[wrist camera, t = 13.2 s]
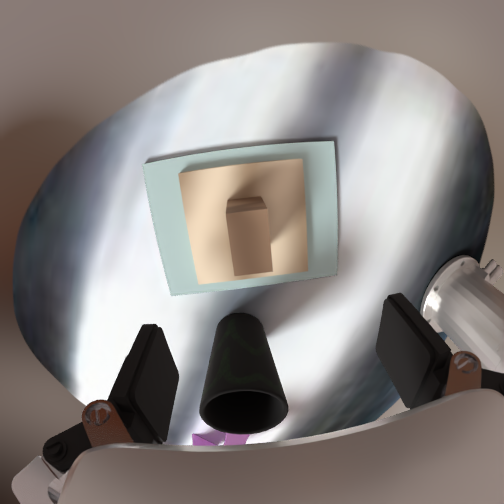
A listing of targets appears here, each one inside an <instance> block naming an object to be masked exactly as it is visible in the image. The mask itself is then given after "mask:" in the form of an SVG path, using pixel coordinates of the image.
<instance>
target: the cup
mask: <svg viewBox="0 0 504 504" xmlns="http://www.w3.org/2000/svg"><path fill="white" fill-rule="evenodd" d="M287 413H288V403H287V400H286V397H285V394H284V391H283V388H282V385H281V382H280V379H279V376H278V373H277V369H276V366H275V363H274V360H273V357H272V354H271V351H270V348H269V344H268V341H267V338H266V335H265V332H264V329H263V326H262V324H261V322H260V321H259V320H258V319H257V318H256V317H254V316H252V315H250V314H245V313H235V314H231V315H228V316H226V317H225V318H223V319H222V320H221V321H220V322H219V324H218V326H217V329H216V334H215V338H214V343H213V347H212V352H211V356H210V361H209V366H208V370H207V375H206V380H205V384H204V389H203V394H202V398H201V403H200V410H199V414H200V416H201V418H202V420H203V421H204V422H205V423H206V424H207V425H209V426H211V427H212V428H214V429H216V430H219V431H221V432H225V433H229V434H239V435H241V434H254V433H260V432H263V431H267V430H269V429H271V428H273V427H275V426H277V425H278V424H279V423H281V422H282V421H283V420H284V418H285V417H286V416H287Z"/></svg>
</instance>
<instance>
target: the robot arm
mask: <svg viewBox="0 0 504 504" xmlns="http://www.w3.org/2000/svg"><path fill="white" fill-rule="evenodd" d="M502 274H503V270H502V268H501V267H500V266H499V265H497V264H496V262H495V261H494V260H493V259H492V260H491V261H490V262H489V263H488V264H487V266H486V267H485V268H482V269H481V268H480V266H479V264H478V262H477V261H476V260H475V259H473V258H472V257H470V256H468V255H461V256H457V257H455V258H453V259H451V260H450V261H449V262H447V263H446V264H445V265H444V266H443V267H442V268H441V269H440V270H439V271H438V272H437V273H436V275H435V276H434V277H433V279H432V280H431V282H430V284H429V286H428V287H427V289H426V292H425V294H424V297H423V300H422V304H421V310H420V313H419V312H418V310H417V309H416V308H415V307H414V306H413V305H412V304H411V303H410V302H409V301H408V300H407V298H406V297H405V296H404V295H403V294H402V293H397V294H392V295H389V296H388V297H387V299H385V300H384V304H383V311H382V317H381V322H380V328H379V333H378V338H377V343H376V352H377V355H378V357H379V358H380V360H381V362H382V364H383V366H384V367H385V369H386V371H387V373H388V375H389V376H390V378H391V380H392V382H393V384H394V386H395V388H396V389H397V391H398V393H399V395H400V397H401V399H402V401H403V403H404V405H405V406H406V407H407V408H410V410H408V411H405V412H402V413H399V414H396V415H394V416H390V417H387V418H384V419H381V420H378V421H374V422H371V423H367V424H364V425H360V426H356V427H352V428H348V429H344V430H340V431H335V432H331V433H326V434H321V435H316V436H310V437H305V438H298V439H292V440H285V441H277V442H267V443H257V444H243V445H220V446H192V445H165V444H162V443H163V442H165V441H166V440H167V435H168V430H169V425H170V420H171V415H172V410H173V405H174V400H175V395H176V391H177V386H178V381H179V373H178V370H177V367H176V365H175V362H174V360H173V357H172V355H171V352H170V349H169V347H168V344H167V341H166V339H165V336H164V333H163V330H162V328H161V327H158V326H157V325H156V324H144V325H142V327H141V329H140V331H139V333H138V335H137V337H136V339H135V341H134V344H133V346H132V348H131V350H130V352H129V354H128V356H127V357H126V358H125V360H124V363H123V365H122V367H121V369H120V372H119V374H118V376H117V378H116V381H115V383H114V385H113V388H112V390H111V393H110V395H109V397H108V400H96V401H92V402H91V403H89V404H88V405H87V406H86V407H85V408H84V410H83V412H82V416H81V418H82V422H81V423H79V424H77V425H75V426H73V427H71V428H69V429H68V430H66V431H64V432H62V433H60V434H58V435H56V436H54V437H52V438H50V439H49V440H47V442H46V443H45V445H44V447H43V456H42V457H40V456H37V457H36V458H35V459H34V460H33V461H32V462H31V463H30V464H28V465H27V466H26V467H25V468H24V469H23V470H22V471H21V472H20V473H18V474H17V475H16V476H15V477H14V479H13V481H12V490H13V492H14V494H15V496H16V497H17V499H18V500H19V502H20V503H21V504H504V294H503V293H502V292H501V291H499V290H498V289H496V288H495V287H494V286H493V284H494V283H495V282H496V281H497V280H498V279H499V278H500V277H501V275H502ZM442 331H444V332H445V333H446V335H447V336H448V337H449V338H450V339H451V340H452V341H453V342H454V344H455V345H456V346H457V347H458V348H459V349H460V351H459V352H456V353H455V354H454V355H453V354H452V353H451V352H450V351H451V349H450V348H449V346H448V345H447V344H446V343H445V342H444V340H443V339H442V338H441V337H440V336H439V334H438V333H437V332H442Z"/></svg>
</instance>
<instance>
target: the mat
mask: <svg viewBox="0 0 504 504" xmlns="http://www.w3.org/2000/svg"><path fill="white" fill-rule="evenodd" d="M286 159H303V172H304V187H305V203H306V223H307V250H308V271H306V272H299V273H291V274H284V275H276V276H268V277H260V278H252V279H244V280H235V281H227V282H218V283H209V284H200V285H199V284H198V280H197V275H196V270H195V265H194V260H193V256H192V250H191V245H190V240H189V235H188V230H187V224H186V219H185V213H184V207H183V201H182V195H181V189H180V183H179V176H178V173H180V172H186V171H193V170H199V169H206V168H213V167H220V166H227V165H235V164H244V163H253V162H263V161H274V160H286ZM142 166H143V172H144V178H145V184H146V190H147V195H148V200H149V205H150V210H151V215H152V220H153V225H154V229H155V234H156V238H157V243H158V247H159V251H160V255H161V259H162V263H163V267H164V271H165V275H166V279H167V283H168V286H169V290H170V293H171V296H176V295H186V294H196V293H205V292H214V291H223V290H232V289H240V288H248V287H256V286H264V285H271V284H279V283H286V282H294V281H301V280H308V279H314V278H321V277H328V276H334V275H337V255H338V217H337V184H336V165H335V150H334V141H322V142H300V143H285V144H272V145H261V146H251V147H242V148H234V149H226V150H219V151H212V152H205V153H199V154H193V155H187V156H181V157H176V158H170V159H165V160H160V161H155V162H151V163H146V164H142Z"/></svg>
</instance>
